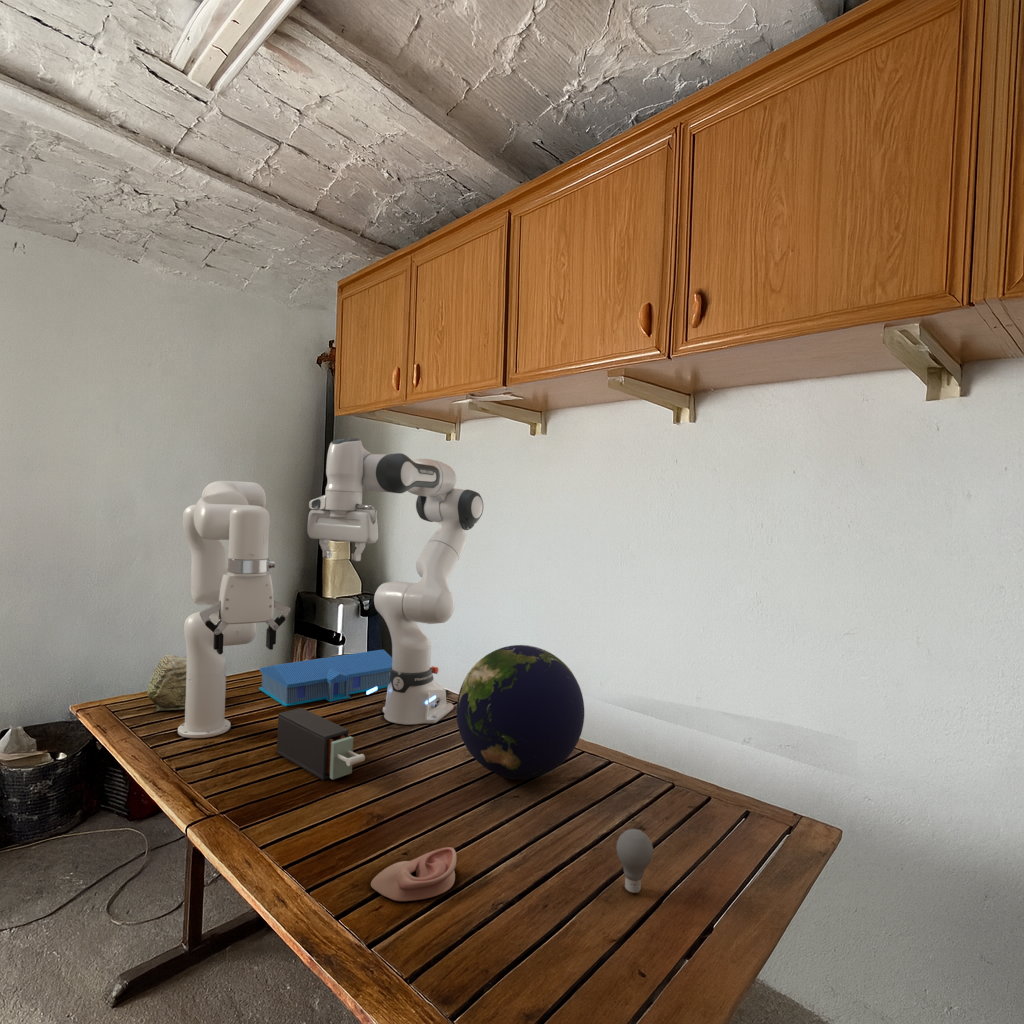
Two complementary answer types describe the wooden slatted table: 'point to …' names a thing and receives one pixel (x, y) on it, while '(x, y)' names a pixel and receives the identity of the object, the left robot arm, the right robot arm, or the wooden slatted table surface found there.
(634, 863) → the light bulb
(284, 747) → the cabinet
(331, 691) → the model building
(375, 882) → the anatomical model
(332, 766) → the drawer
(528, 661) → the globe
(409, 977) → the wooden slatted table surface
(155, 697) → the fossil
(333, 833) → the wooden slatted table surface
